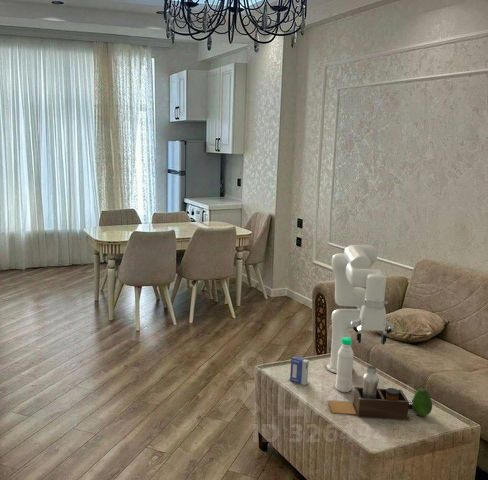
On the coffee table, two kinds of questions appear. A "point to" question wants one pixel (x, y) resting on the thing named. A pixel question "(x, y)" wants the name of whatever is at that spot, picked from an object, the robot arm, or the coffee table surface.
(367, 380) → the metal flask
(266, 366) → the coffee table surface
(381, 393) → the brown divided box
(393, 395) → the spice jar
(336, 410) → the cork mat
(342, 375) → the water bottle
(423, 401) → the fruit
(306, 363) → the walkman
